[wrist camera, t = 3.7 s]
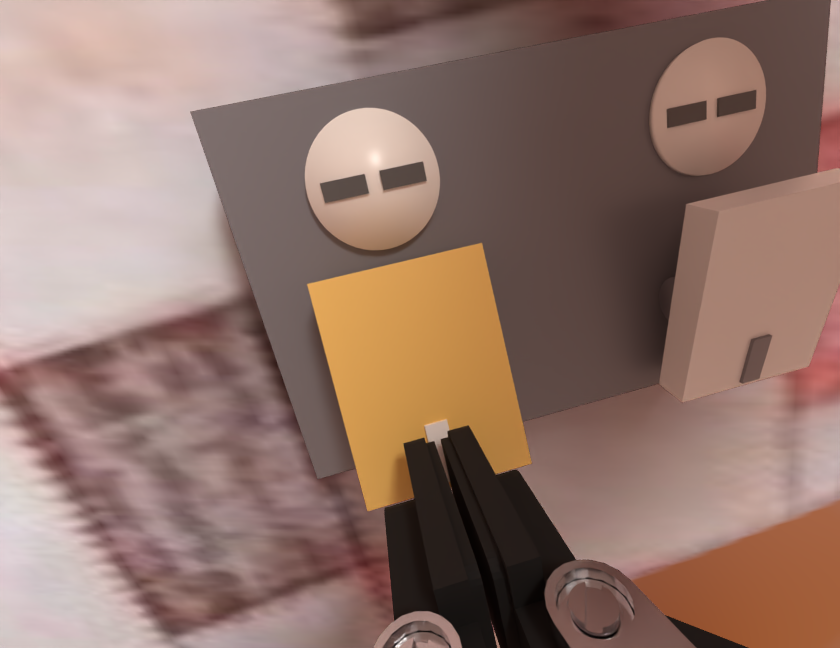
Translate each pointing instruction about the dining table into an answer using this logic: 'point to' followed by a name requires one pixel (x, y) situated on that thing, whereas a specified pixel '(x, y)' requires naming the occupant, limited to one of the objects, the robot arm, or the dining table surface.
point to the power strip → (519, 188)
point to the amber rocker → (418, 365)
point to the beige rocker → (751, 285)
